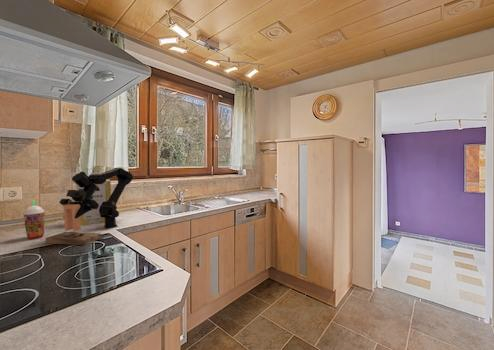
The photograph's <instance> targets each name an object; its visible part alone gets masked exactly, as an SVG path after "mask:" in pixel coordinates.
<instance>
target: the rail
mask: <svg viewBox="0 0 494 350" xmlns="http://www.w3.org/2000/svg"><path fill="white" fill-rule="evenodd" d="M100 239H102V233H99V232H97V233H96V232H77V231H73V232H72V231H62V232H61V233H58V234H53V235H52V236H48V237H45V243H46V244H55V245H57V244H58V245H77V246H78V245H79V246H86V245H88V244H91V243H93V242H96V241H98V240H100Z"/></svg>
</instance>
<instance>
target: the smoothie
mask: <svg viewBox="0 0 494 350" xmlns="http://www.w3.org/2000/svg"><path fill="white" fill-rule="evenodd" d="M35 203H36V202H35V199H33V200H32V205H30V206H28V207H27V208H26V209H25V210H24V212H23V222H24V226H25V234H26V237H27V238H28V240H36V239H41V238H43V237H44V235H45V218H46V217H45V214H46V211H45V210H44V208H43V207H41V206H39V205H35Z"/></svg>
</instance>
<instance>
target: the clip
mask: <svg viewBox="0 0 494 350" xmlns="http://www.w3.org/2000/svg"><path fill="white" fill-rule="evenodd" d="M62 208H63V216H64V217H63V220H64V232H70V231H73V232H77V231H81V229H82V226H81V224H80V217H78V218H77V219H76V218H75V215H76V213H77V212H78V210H79V209H80V207H79V204H67V205H62Z"/></svg>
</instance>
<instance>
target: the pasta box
mask: <svg viewBox="0 0 494 350" xmlns="http://www.w3.org/2000/svg"><path fill="white" fill-rule="evenodd" d="M111 184H112V183H111V179H107V180H106V182H104V183H103V184H95V185H96V186H99V189H100V191H95V192H94V194H93V195H92V197H93V198H92V199H94V200H95V201H96V202H97V203H98V204H99V207H98V208H97V209H92V208H91V209H92V210H90V211H88V212H86V213H85V214H83V215H81V216H80V224H81V227H83V226H84V227H85V226H90V225H97V224H105V217H101V215H100V213H99V209H100V206H101V204H102V202H107V201H108V200H109V198H110V196H111V194H112V187H111ZM75 186H76V190H79V189H83V188H84V187H82V188H81V187H79V186H78V185H77V184H76V183H75ZM79 207H80V206H79Z"/></svg>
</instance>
